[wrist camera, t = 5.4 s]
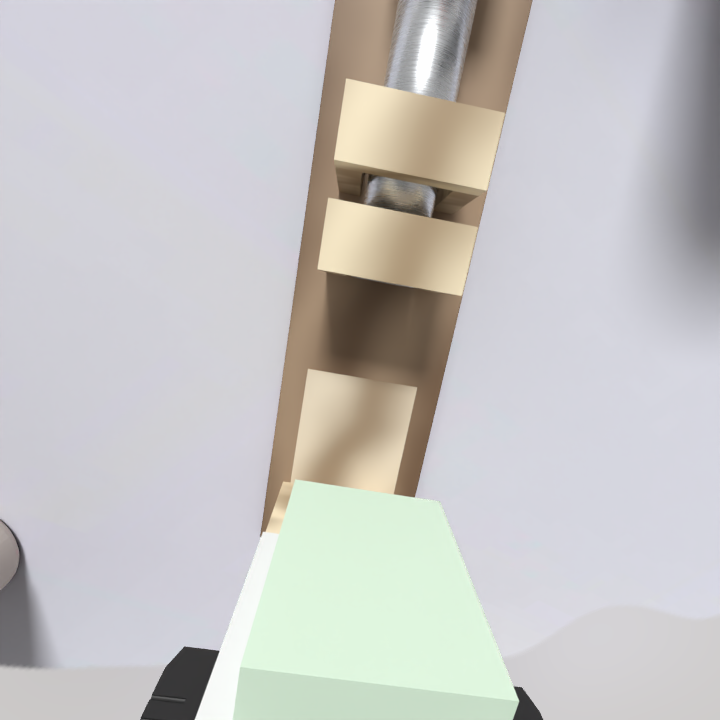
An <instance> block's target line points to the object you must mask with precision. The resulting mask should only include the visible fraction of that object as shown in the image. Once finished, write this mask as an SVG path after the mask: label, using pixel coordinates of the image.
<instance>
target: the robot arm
mask: <svg viewBox="0 0 720 720" xmlns="http://www.w3.org/2000/svg"><path fill="white" fill-rule="evenodd" d="M278 536H279V534H276V533H269V532H263V533H262V536H261V539H260V541H259V544H258V547H257V550H256V552H255V555H254V558H253V561H252V563H251V566H250V569H249V572H248V575H247V577H246V580H245V583H244V586H243V588H242V591H241V594H240V597H239V599H238V602H237V605H236V608H235V610H234V613H233V616H232V619H231V621H230V624H229V627H228V630H227V632H226V635H225V638H224V641H223V643H222V646H221V649H220V651H216V650H208V649H200V648H192V647H184V648H183V649H182V650H181V651H180V652H179V653H178V654H177V655H176V656H175V658H174V659H173V660H172V661H171V662H170V663H169V664H168V665H167V666H166V667H165V669H164V671H163V673H162V675H161V677H160V679H159V682H158V684H157V686H156V688H155V690H154V692H153V694H152V697H151V699H150V700H149V702H148V704H147V706H146V708H145V710H144V712H143V714H142V717H141V719H140V720H233V714H234V707H235V699H236V692H237V685H238V678H239V671H240V665H241V662H242V659H243V655H244V652H245V648H246V645H247V642H248V638H249V635H250V631H251V628H252V625H253V621H254V618H255V614H256V611H257V608H258V604H259V601H260V597H261V594H262V591H263V587H264V584H265V580H266V577H267V574H268V570H269V567H270V563H271V560H272V557H273V553H274V550H275V546H276V543H277V540H278ZM513 687H514V686H513ZM514 689H515V692H516V694H517V697H518V699H519V703H518V706H517V709H516V712H515V715H514V718H513V720H543V718H542V716H541V714H540V712H539V710H538V709H537V708H536V706H535V705H534V703H533V702H532V701H531V699H530V698H529V696H528V695H527V694H526V692H525V691H524V690H523V688H522V687H514Z"/></svg>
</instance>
